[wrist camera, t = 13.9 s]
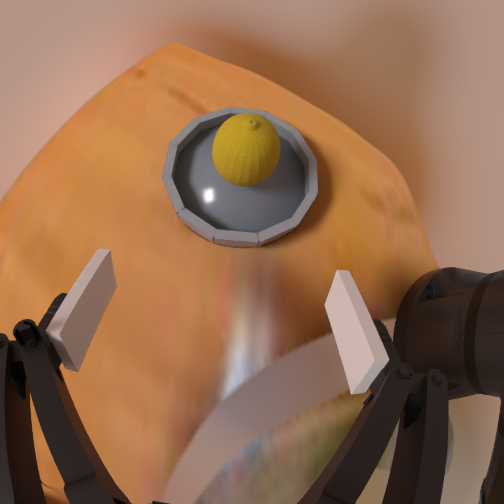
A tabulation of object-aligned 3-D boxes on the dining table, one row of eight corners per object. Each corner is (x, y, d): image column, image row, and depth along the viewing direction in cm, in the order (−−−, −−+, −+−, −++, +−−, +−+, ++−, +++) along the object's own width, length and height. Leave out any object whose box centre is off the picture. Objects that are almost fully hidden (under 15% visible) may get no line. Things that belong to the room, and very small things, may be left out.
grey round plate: (307, 132, 30) (314, 119, 27) (309, 254, 27) (318, 248, 24) (181, 118, 28) (180, 103, 26) (157, 241, 25) (151, 233, 23)
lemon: (238, 140, 27) (246, 85, 20) (281, 172, 27) (304, 123, 19) (199, 176, 26) (195, 123, 18) (245, 212, 26) (258, 168, 18)
